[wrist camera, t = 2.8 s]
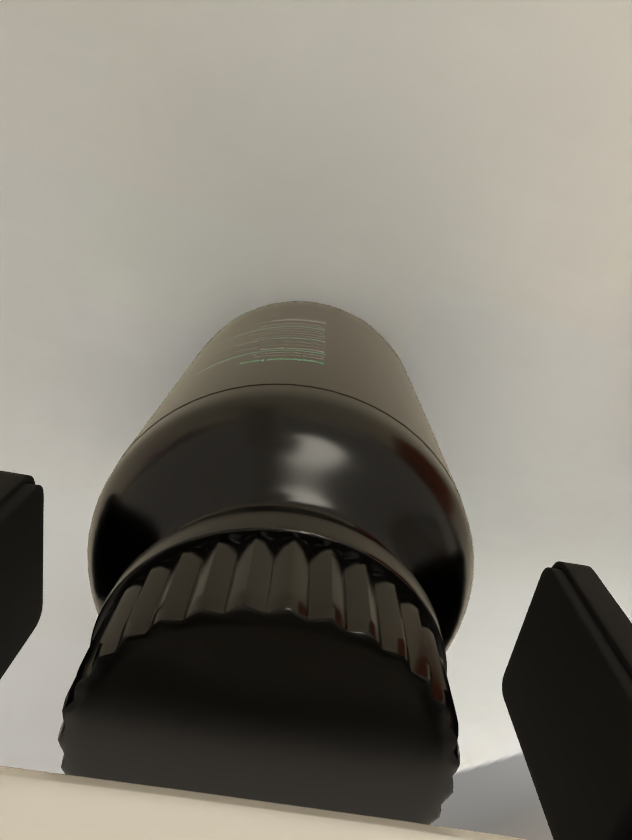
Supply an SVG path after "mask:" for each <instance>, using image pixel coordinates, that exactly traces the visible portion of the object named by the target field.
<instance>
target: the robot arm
mask: <svg viewBox="0 0 632 840" xmlns="http://www.w3.org/2000/svg"><path fill="white" fill-rule="evenodd" d="M43 507H44V493H43V488H42V486H41V485H35V481H34V478H33V477H32V476H30V475H23V474H17V473H11V472H5V471H0V679H1V678H2V676H3V675H4V673H5V672H6V670H7V669H8V667H9V666H10V664H11V663H12V661H13V660H14V658H15V657H16V655H17V654H18V652H19V651H20V650H21V648H22V647H23V645H24V644H25V642H26V641H27V639H28V638H29V636H30V635H31V633H32V632H33V630H34V629H35V627H36V626H37V624H38V621H39V619H40V616H41V612H42V605H43ZM502 692H503V697H504V700H505V703H506V706H507V709H508V712H509V715H510V717H511V720H512V723H513V726H514V729H515V732H516V734H517V737H518V740H519V743H520V746H521V749H522V751H523V754H524V757H525V760H526V762H527V766H528V768H529V771H530V774H531V777H532V780H533V783H534V785H535V788H536V791H537V794H538V797H539V800H540V802H541V805H542V808H543V811H544V814H545V816H546V819H547V822H548V825H549V828H550V830H551V833H552V836H553V839H554V840H632V623H631V622H630V620H629V619H628V618H627V616H626V615H625V613H624V612H623V611H622V609H621V608H620V606H619V605H618V604H617V602H616V601H615V600H614V598H613V597H612V595H611V594H610V593H609V591H608V590H607V588H606V587H605V586H604V584H603V583H602V581H601V580H600V579H599V577H598V576H597V574H596V573H595V572H594V570H593V569H592V568H591V567H589V566H585V565H578V564H572V563H566V562H560V561H559V562H556V563H555V564H554V565H553V566H552V568H549V567H548V568H545V569H544V570H543V572H542V574H541V577H540V579H539V582H538V585H537V588H536V590H535V593H534V596H533V598H532V601H531V604H530V606H529V609H528V612H527V614H526V617H525V620H524V622H523V625H522V628H521V630H520V633H519V636H518V638H517V641H516V644H515V646H514V649H513V652H512V654H511V657H510V660H509V663H508V665H507V668H506V671H505V673H504V676H503V681H502ZM0 840H528V839H521V838H514V837H508V836H501V835H495V834H488V833H481V832H474V831H467V830H460V829H454V828H446V827H440V826H433V825H426V824H420V823H413V822H406V821H399V820H392V819H385V818H378V817H371V816H364V815H357V814H350V813H343V812H335V811H328V810H321V809H314V808H307V807H300V806H293V805H286V804H278V803H271V802H264V801H257V800H250V799H242V798H235V797H228V796H221V795H214V794H206V793H199V792H192V791H185V790H177V789H170V788H162V787H155V786H147V785H140V784H132V783H125V782H117V781H110V780H102V779H95V778H87V777H80V776H72V775H65V774H57V773H50V772H42V771H35V770H27V769H20V768H12V767H4V766H0Z"/></svg>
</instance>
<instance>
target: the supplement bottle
mask: <svg viewBox="0 0 632 840" xmlns="http://www.w3.org/2000/svg"><path fill="white" fill-rule="evenodd" d="M87 555H88V574H89V580H90V587H91V592H92V596H93V600H94V603H95V607H96V610H97V613H98V618H97V620H96V623H95V626H94V629H93V633H92V637H91V643H90V647H89V649H88V651H87V653H86V655H85V657H84V659H83V661H82V663H81V665H80V667H79V670H78V672H77V675H76V678H75V680H74V682H73V684H72V686H71V688H70V690H69V692H68V694H67V696H66V698H65V702H64V705H63V710H62V713H63V720H64V721H63V723H62V726H61V728H60V732H59V736H58V741H59V744H60V747H61V748H62V750H63V752H64V756H63V760H62V765H61V768H62V770H63V771H64V773H65V774H66V775H72V776H80V777H87V778H95V779H102V780H110V781H117V782H125V783H132V784H140V785H147V786H155V787H162V788H170V789H177V790H185V791H192V792H199V793H206V794H214V795H221V796H228V797H235V798H242V799H250V800H257V801H264V802H271V803H278V804H286V805H293V806H300V807H307V808H314V809H321V810H328V811H335V812H343V813H350V814H357V815H364V816H371V817H378V818H385V819H392V820H399V821H406V822H413V823H420V824H426V825H429V824H431V823H432V822H434V821H435V820H436V819H437V818H439V816H440V812H441V804H442V803H443V802H444V801H445V800H446V799H447V798H448V797H449V796H450V795H451V794H452V793H453V777H452V776H453V775H454V773H455V772H456V771H457V769H458V767H459V765H460V752H459V746H458V742H457V739H458V720H457V715H456V711H455V707H454V703H453V699H452V695H451V691H450V687H449V683H448V679H447V661H446V651H447V650H448V648H449V647H450V645H451V643H452V641H453V639H454V637H455V636H456V634H457V632H458V630H459V627H460V625H461V622H462V620H463V617H464V615H465V612H466V609H467V605H468V602H469V598H470V594H471V589H472V582H473V568H474V554H473V543H472V537H471V532H470V527H469V523H468V520H467V516H466V513H465V510H464V507H463V504H462V501H461V498H460V495H459V493H458V490H457V488H456V485H455V483H454V481H453V478H452V476H451V474H450V471H449V469H448V467H447V464H446V462H445V460H444V457H443V455H442V453H441V451H440V448H439V446H438V444H437V441H436V439H435V437H434V434H433V432H432V430H431V427H430V425H429V423H428V420H427V418H426V416H425V413H424V411H423V409H422V406H421V404H420V402H419V399H418V397H417V395H416V393H415V390H414V388H413V386H412V383H411V381H410V379H409V377H408V375H407V373H406V371H405V369H404V367H403V365H402V363H401V361H400V359H399V358H398V356H397V354H396V353H395V351H394V350H393V349H392V348H391V346H390V345H389V344H388V342H387V341H386V340H385V339H384V338H383V337H382V336H381V335H380V334H379V333H378V332H377V331H376V330H374V329H373V328H372V327H371V326H370V325H368V324H367V323H365V322H364V321H363V320H361V319H359V318H357V317H356V316H354V315H352V314H350V313H348V312H346V311H343V310H341V309H338V308H335V307H332V306H329V305H324V304H320V303H313V302H299V301H293V302H281V303H276V304H270V305H267V306H263V307H260V308H257V309H255V310H252V311H250V312H247V313H246V314H244V315H242V316H240V317H238V318H236V319H235V320H233V321H232V322H230V323H229V324H227V325H226V326H225V327H224V328H223V329H221V330H220V331H219V332H218V333H217V334H216V335H215V336H214V337H213V338H212V339H211V340H210V341H209V342H208V343H207V345H206V346H205V347H204V348H203V349H202V351H201V352H200V353H199V354H198V355H197V357H196V358H195V359H194V361H193V362H192V363H191V365H190V366H189V367H188V369H187V370H186V371H185V373H184V374H183V375H182V377H181V378H180V379H179V381H178V382H177V384H176V385H175V386H174V388H173V389H172V390H171V392H170V393H169V394H168V396H167V397H166V398H165V400H164V401H163V402H162V404H161V405H160V406H159V408H158V409H157V410H156V412H155V413H154V414H153V416H152V417H151V418H150V420H149V421H148V422H147V424H146V425H145V426H144V428H143V429H142V430H141V432H140V433H139V434H138V436H137V437H136V438H135V440H134V441H133V442H132V444H131V445H130V446H129V448H128V449H127V450H126V452H125V453H124V455H123V456H122V458H121V459H120V461H119V462H118V464H117V466H116V467H115V469H114V470H113V472H112V474H111V475H110V477H109V479H108V480H107V482H106V484H105V486H104V488H103V490H102V492H101V494H100V496H99V499H98V501H97V504H96V507H95V510H94V513H93V517H92V522H91V526H90V531H89V538H88V549H87Z"/></svg>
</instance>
